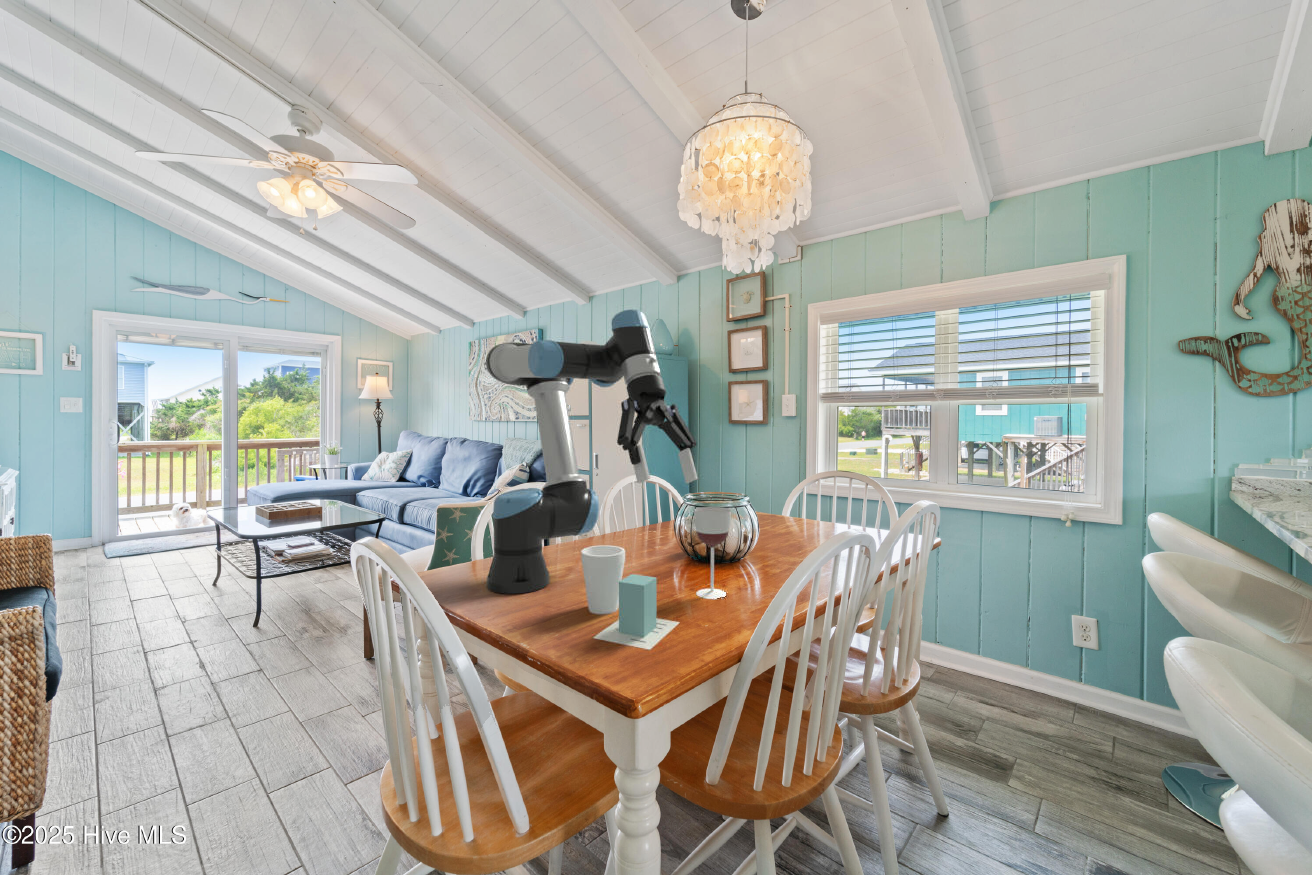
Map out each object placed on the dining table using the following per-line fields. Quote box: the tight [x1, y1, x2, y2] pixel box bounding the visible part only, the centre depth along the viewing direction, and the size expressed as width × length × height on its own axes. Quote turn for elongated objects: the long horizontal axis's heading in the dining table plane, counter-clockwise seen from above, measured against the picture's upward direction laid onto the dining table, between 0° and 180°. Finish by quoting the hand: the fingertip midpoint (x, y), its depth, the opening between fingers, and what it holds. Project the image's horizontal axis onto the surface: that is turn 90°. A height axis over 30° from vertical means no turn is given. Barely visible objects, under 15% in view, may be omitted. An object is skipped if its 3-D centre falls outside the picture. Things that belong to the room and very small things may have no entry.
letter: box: [592, 617, 680, 651], centre depth 107 cm, size 12×14×1 cm
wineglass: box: [693, 506, 732, 600], centre depth 128 cm, size 8×9×20 cm
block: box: [618, 573, 658, 637], centre depth 106 cm, size 6×6×10 cm
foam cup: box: [580, 545, 626, 615], centre depth 118 cm, size 10×9×13 cm
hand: (669, 481), depth 104 cm, fingers open, 13 cm apart
